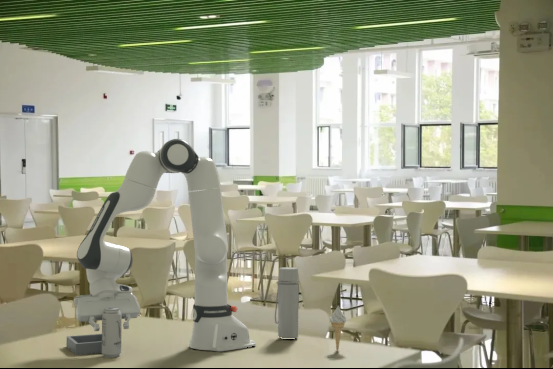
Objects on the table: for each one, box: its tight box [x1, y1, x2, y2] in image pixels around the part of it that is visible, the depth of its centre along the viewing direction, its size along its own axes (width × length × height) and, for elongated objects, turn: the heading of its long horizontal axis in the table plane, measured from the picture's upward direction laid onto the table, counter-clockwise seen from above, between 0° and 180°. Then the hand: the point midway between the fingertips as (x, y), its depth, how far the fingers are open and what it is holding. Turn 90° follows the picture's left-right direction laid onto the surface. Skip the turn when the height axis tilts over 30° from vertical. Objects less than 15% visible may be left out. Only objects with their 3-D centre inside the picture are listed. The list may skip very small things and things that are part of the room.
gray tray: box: [66, 333, 102, 356], centre depth 263 cm, size 14×14×4 cm
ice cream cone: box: [329, 305, 347, 351], centre depth 264 cm, size 6×6×15 cm
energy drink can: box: [101, 307, 123, 359], centre depth 253 cm, size 6×6×15 cm
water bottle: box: [274, 266, 300, 339], centre depth 285 cm, size 9×8×25 cm
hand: (111, 329), depth 252 cm, fingers open, 8 cm apart
